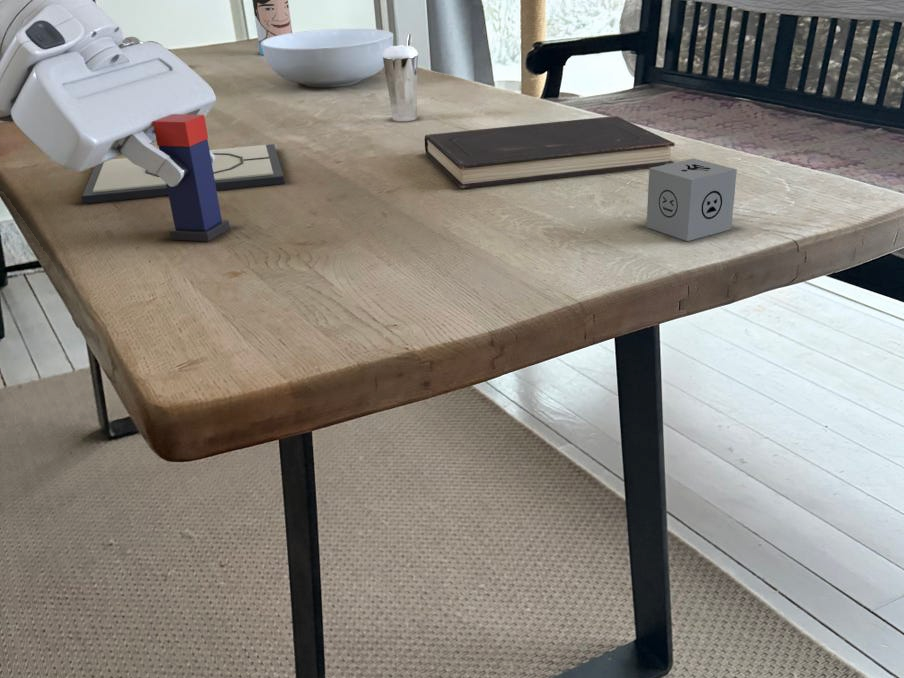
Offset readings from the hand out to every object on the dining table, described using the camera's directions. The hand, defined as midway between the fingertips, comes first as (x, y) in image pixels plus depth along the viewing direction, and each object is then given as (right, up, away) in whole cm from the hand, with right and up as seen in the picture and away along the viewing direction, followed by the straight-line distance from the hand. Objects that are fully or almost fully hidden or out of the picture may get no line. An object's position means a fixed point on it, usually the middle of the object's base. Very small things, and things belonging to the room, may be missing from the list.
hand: (195, 173), depth 82 cm
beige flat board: (-7, +6, +22) cm, 24 cm away
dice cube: (+42, -5, -1) cm, 43 cm away
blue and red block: (0, -5, +3) cm, 5 cm away
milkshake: (+15, +20, +44) cm, 51 cm away
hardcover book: (+32, +8, +22) cm, 39 cm away
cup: (-15, +54, +106) cm, 120 cm away
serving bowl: (+1, +35, +72) cm, 80 cm away
